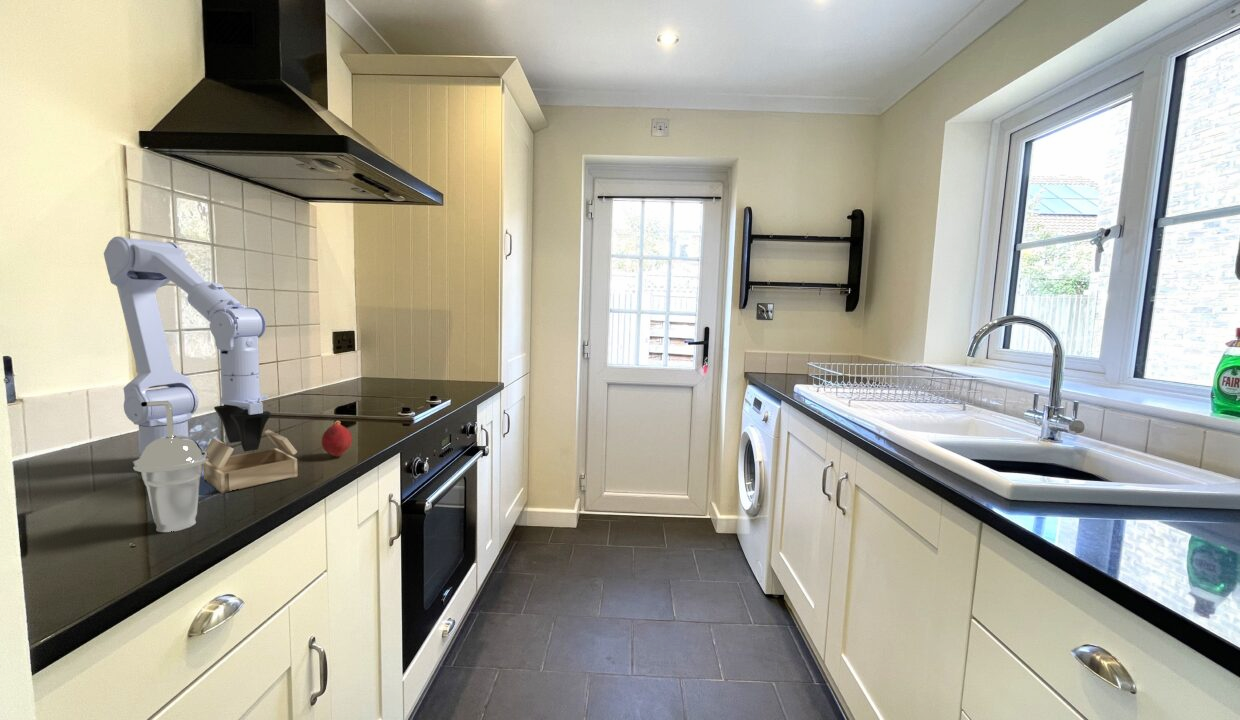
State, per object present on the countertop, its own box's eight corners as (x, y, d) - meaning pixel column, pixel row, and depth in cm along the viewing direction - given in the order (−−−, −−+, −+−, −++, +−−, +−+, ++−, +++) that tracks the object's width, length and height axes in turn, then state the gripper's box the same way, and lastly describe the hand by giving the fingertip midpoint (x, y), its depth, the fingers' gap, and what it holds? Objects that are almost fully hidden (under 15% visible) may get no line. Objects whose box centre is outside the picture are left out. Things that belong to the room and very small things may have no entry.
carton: (203, 478, 95) (202, 460, 95) (276, 464, 105) (275, 447, 104) (222, 494, 89) (221, 474, 88) (298, 476, 98) (298, 459, 98)
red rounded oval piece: (339, 462, 108) (338, 425, 107) (315, 459, 109) (314, 422, 108) (358, 454, 113) (357, 419, 112) (335, 451, 115) (335, 417, 114)
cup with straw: (226, 518, 80) (220, 392, 77) (162, 544, 71) (153, 403, 69) (185, 510, 82) (178, 387, 79) (117, 535, 73) (107, 397, 71)
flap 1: (206, 457, 95) (201, 456, 94) (217, 439, 96) (212, 437, 95) (222, 468, 89) (217, 467, 89) (234, 449, 90) (229, 447, 90)
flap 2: (264, 431, 102) (268, 429, 102) (275, 445, 103) (279, 442, 104) (282, 440, 96) (286, 438, 97) (293, 454, 98) (297, 452, 99)
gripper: (281, 376, 93) (283, 449, 94) (251, 367, 101) (254, 434, 103) (234, 380, 87) (237, 457, 88) (207, 370, 96) (210, 441, 97)
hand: (243, 445), depth 95 cm, fingers open, 7 cm apart
